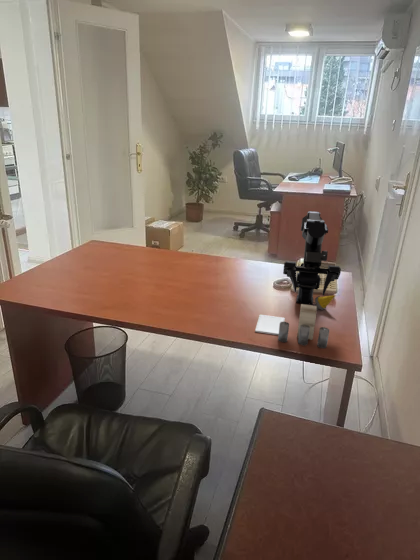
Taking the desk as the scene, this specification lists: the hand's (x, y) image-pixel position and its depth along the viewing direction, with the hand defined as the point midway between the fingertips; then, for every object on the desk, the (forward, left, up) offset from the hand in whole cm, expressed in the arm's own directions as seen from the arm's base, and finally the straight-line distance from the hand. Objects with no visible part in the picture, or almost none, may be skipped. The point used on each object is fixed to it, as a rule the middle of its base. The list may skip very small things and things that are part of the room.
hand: (309, 293), depth 133 cm
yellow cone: (-17, +6, -13) cm, 22 cm away
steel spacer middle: (+11, 0, -13) cm, 17 cm away
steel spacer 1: (+11, -7, -13) cm, 18 cm away
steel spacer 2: (+11, +6, -13) cm, 18 cm away
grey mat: (+2, -12, -13) cm, 18 cm away
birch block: (+5, 0, -13) cm, 14 cm away
